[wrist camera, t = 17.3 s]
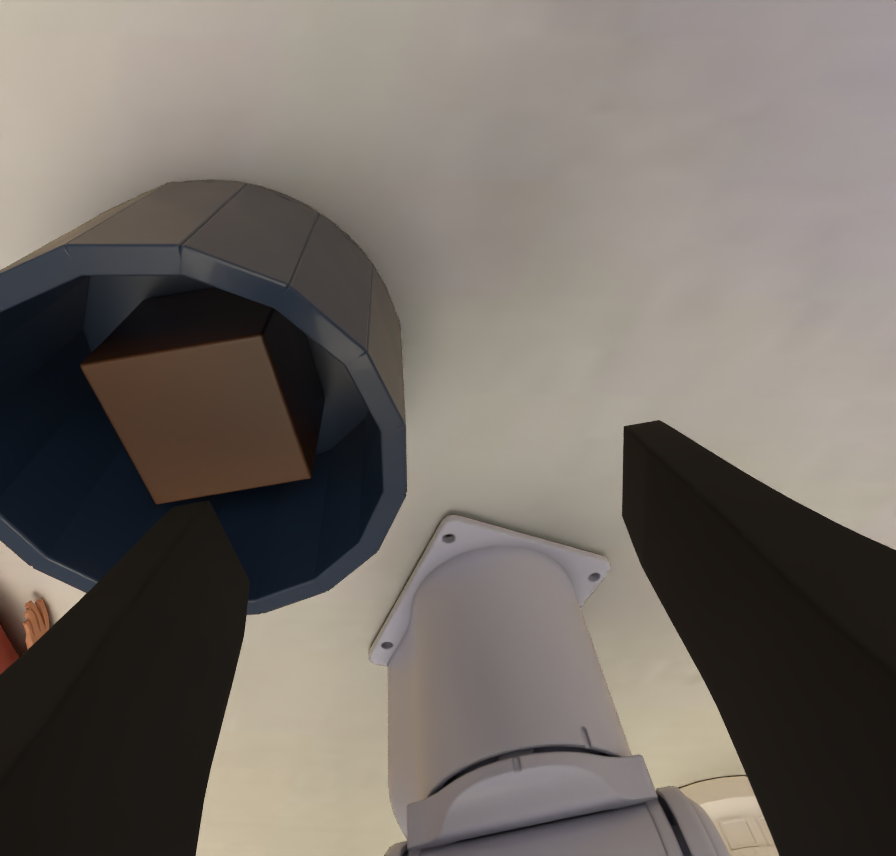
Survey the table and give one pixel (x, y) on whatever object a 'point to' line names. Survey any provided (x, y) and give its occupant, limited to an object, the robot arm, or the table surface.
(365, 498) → the cup
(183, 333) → the block
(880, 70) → the table surface
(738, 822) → the decorative container
